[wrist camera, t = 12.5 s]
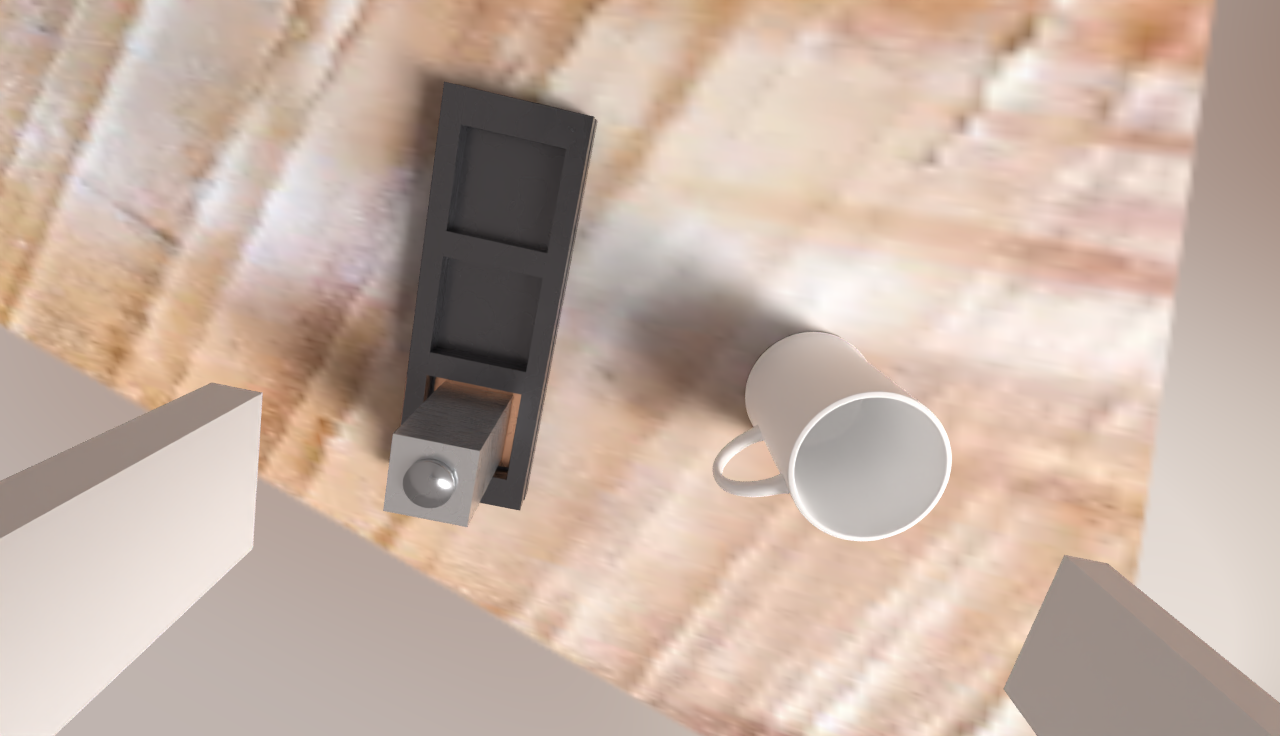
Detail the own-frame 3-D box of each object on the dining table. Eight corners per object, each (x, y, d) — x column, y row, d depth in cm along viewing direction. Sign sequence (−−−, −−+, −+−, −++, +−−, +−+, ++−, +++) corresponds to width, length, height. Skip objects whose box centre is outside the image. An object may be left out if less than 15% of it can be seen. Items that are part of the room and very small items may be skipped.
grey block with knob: (443, 381, 42) (389, 437, 33) (512, 396, 42) (477, 454, 33) (434, 444, 43) (379, 515, 34) (501, 458, 43) (464, 531, 34)
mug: (716, 478, 45) (743, 580, 33) (682, 366, 43) (699, 433, 31) (883, 432, 44) (970, 521, 32) (858, 315, 42) (942, 365, 30)
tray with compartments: (455, 87, 38) (442, 81, 35) (597, 121, 38) (594, 116, 36) (404, 468, 45) (391, 485, 42) (526, 493, 45) (520, 510, 43)
